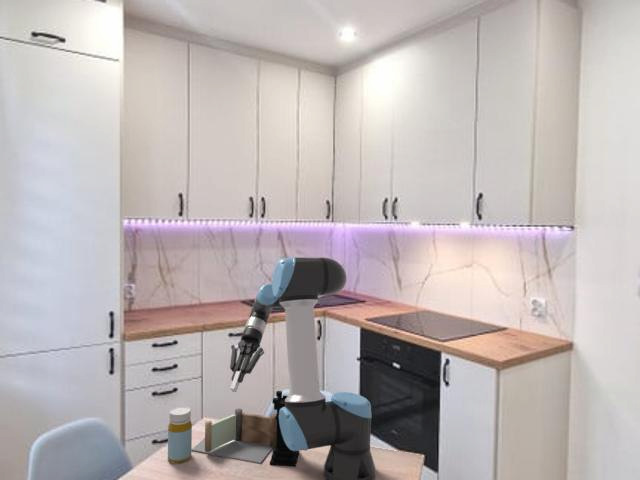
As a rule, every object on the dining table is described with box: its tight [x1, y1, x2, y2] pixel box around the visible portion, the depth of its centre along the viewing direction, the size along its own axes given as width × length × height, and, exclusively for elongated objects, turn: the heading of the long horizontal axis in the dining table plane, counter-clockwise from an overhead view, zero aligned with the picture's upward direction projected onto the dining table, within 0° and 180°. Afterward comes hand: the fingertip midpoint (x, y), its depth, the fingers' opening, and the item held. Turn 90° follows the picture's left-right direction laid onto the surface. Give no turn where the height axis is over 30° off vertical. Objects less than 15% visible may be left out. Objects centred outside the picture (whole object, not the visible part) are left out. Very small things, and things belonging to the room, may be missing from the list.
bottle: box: [167, 406, 193, 465], centre depth 137 cm, size 7×7×15 cm
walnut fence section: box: [234, 408, 277, 447], centre depth 148 cm, size 15×2×10 cm, turn 74°
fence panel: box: [204, 413, 236, 452], centre depth 144 cm, size 12×2×9 cm, turn 141°
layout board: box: [191, 437, 274, 465], centre depth 147 cm, size 24×16×1 cm, turn 74°
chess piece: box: [269, 390, 301, 468], centre depth 138 cm, size 8×8×20 cm
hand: (233, 390), depth 155 cm, fingers closed
